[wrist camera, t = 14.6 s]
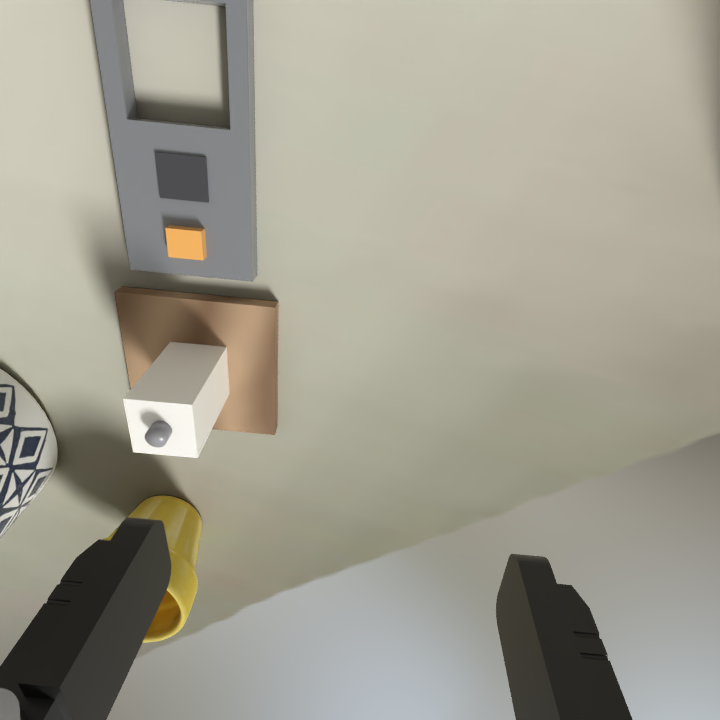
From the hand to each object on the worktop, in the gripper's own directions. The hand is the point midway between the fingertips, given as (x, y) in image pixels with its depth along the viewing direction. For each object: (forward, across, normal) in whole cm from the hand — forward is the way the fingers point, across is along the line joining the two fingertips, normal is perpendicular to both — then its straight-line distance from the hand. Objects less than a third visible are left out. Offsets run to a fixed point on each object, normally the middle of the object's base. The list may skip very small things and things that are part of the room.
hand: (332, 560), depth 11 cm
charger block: (+25, +13, +10) cm, 30 cm away
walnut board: (+26, +13, +10) cm, 31 cm away
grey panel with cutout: (+26, +13, -7) cm, 30 cm away
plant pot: (+27, +19, +29) cm, 44 cm away
